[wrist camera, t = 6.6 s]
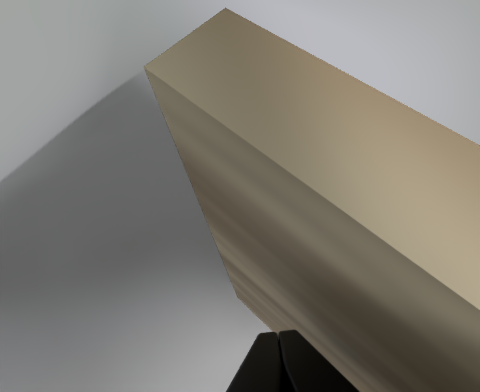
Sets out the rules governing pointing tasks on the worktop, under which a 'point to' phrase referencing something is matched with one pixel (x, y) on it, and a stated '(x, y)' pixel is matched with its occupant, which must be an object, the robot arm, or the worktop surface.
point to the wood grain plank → (331, 205)
